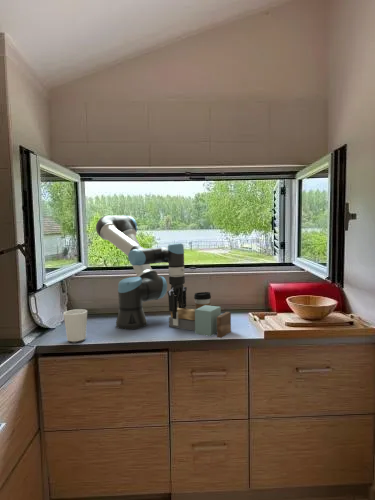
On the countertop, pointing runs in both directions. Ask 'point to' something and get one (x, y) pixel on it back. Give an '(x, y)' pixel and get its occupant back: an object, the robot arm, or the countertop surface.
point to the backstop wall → (223, 324)
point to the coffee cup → (202, 299)
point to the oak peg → (185, 313)
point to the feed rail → (183, 324)
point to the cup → (75, 325)
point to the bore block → (206, 320)
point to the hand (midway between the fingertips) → (178, 323)
